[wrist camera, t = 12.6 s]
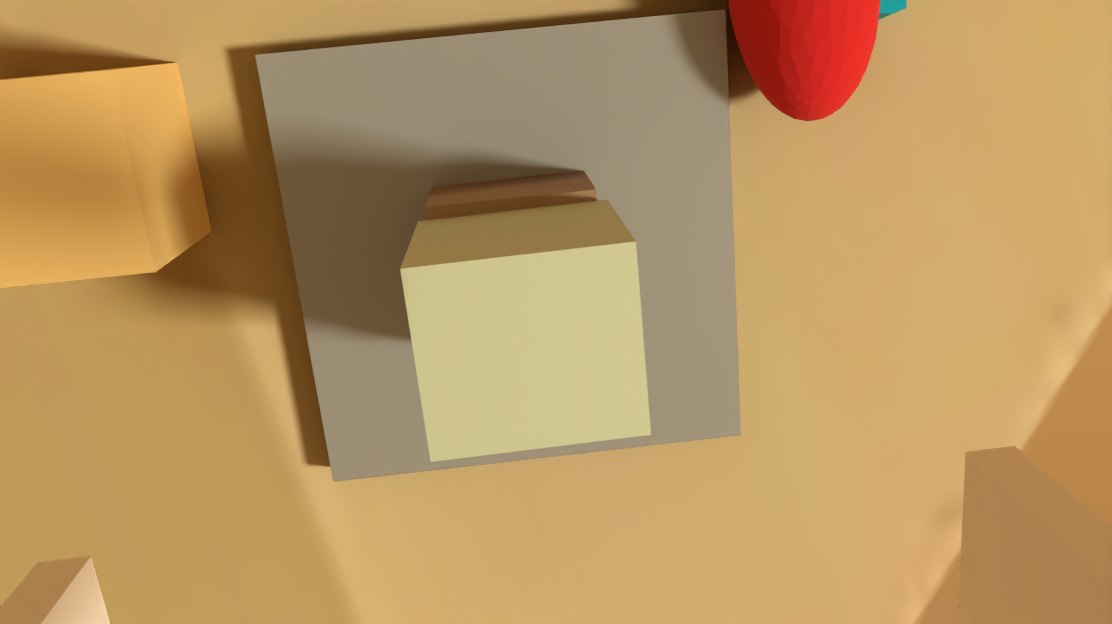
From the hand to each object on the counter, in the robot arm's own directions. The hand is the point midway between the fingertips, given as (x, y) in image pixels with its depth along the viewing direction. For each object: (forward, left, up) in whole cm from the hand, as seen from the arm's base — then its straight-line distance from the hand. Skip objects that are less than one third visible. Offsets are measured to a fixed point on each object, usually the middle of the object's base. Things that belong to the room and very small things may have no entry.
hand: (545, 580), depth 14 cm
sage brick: (0, 0, -17) cm, 17 cm away
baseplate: (0, 0, -22) cm, 22 cm away
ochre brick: (-5, -14, -22) cm, 26 cm away
